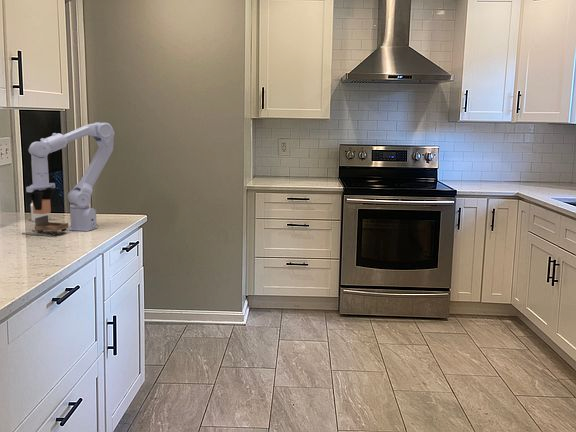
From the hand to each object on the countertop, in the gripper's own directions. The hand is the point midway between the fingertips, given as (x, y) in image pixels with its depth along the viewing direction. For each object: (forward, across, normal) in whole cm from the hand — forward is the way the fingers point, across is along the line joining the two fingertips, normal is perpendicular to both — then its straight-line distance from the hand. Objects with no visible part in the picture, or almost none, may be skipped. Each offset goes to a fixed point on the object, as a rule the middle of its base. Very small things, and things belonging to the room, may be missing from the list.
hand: (42, 208), depth 220 cm
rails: (+9, +1, 0) cm, 9 cm away
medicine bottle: (+10, -24, -20) cm, 33 cm away
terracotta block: (+2, 0, 0) cm, 2 cm away
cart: (+9, +1, +4) cm, 10 cm away
